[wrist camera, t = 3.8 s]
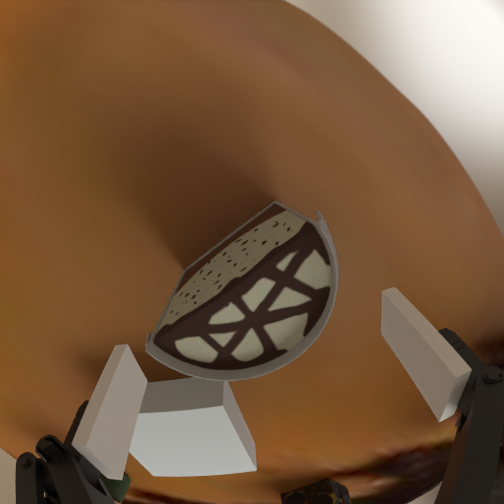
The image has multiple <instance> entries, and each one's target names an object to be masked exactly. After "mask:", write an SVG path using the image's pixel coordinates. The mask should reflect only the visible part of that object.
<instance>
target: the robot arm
mask: <svg viewBox="0 0 504 504" xmlns="http://www.w3.org/2000/svg"><path fill="white" fill-rule="evenodd" d="M381 335H382V336H383V338H384V339H385V340H386V342H387V343H388V345H389V346H390V348H391V349H392V351H393V352H394V354H395V355H396V356H397V358H398V359H399V361H400V362H401V364H402V365H403V367H404V368H405V370H406V371H407V373H408V374H409V376H410V377H411V379H412V380H413V382H414V383H415V385H416V387H417V388H418V390H419V391H420V393H421V394H422V396H423V397H424V399H425V401H426V402H427V404H428V405H429V407H430V408H431V410H432V412H433V413H434V415H435V416H436V418H437V420H438V421H439V422H441V421H443V420H445V419H447V418H449V417H450V416H452V415H454V413H455V411H456V409H457V406H458V407H459V409H460V410H461V414H460V416H459V418H458V420H457V422H456V425H455V426H458V427H457V431H456V436H455V440H454V444H453V448H452V451H451V455H450V459H449V462H448V465H447V469H446V472H445V475H444V478H443V481H442V484H441V487H440V490H439V493H438V495H437V498H436V500H435V503H434V504H504V366H503V367H502V368H501V369H500V368H498V367H496V366H486V365H485V364H484V363H483V362H482V361H481V360H480V359H479V358H478V357H477V355H476V354H475V353H474V352H473V351H472V350H471V349H470V348H469V347H468V346H466V344H465V343H464V342H463V341H461V338H460V337H459V336H458V335H457V334H456V333H455V332H453V331H451V330H449V329H447V328H444V329H441V330H439V331H437V330H436V329H435V328H434V327H433V326H432V324H431V323H430V322H429V321H428V320H427V319H426V318H425V317H424V316H423V315H422V314H421V313H420V312H419V311H418V310H417V309H416V308H415V307H414V306H413V305H412V304H411V303H410V302H409V301H408V300H407V299H406V298H405V297H404V296H403V295H402V294H401V293H400V292H399V291H398V290H397V289H396V288H395V287H392V288H389V289H386V290H382V311H381ZM147 382H148V381H147V379H146V377H145V375H144V374H143V372H142V370H141V368H140V367H139V365H138V363H137V361H136V359H135V357H134V355H133V354H132V352H131V350H130V348H129V346H128V344H122V345H115V347H114V349H113V351H112V353H111V355H110V357H109V359H108V362H107V364H106V366H105V368H104V370H103V372H102V374H101V376H100V379H99V381H98V383H97V385H96V387H95V389H94V392H93V394H92V396H91V398H90V401H85V402H84V403H83V404H82V405H81V406H80V407H79V409H78V411H77V413H76V418H74V420H73V424H72V425H71V427H70V430H69V432H68V434H67V437H66V439H65V442H64V444H62V443H61V442H60V441H59V440H58V439H57V437H55V436H53V435H47V436H44V437H43V438H41V439H40V440H39V442H38V443H37V445H36V453H37V454H38V455H39V456H40V457H41V458H37V457H35V456H34V455H33V454H32V453H30V452H25V453H23V454H21V455H20V456H19V458H18V459H17V462H16V504H116V503H115V502H114V500H113V498H112V497H111V495H110V493H109V492H108V490H107V488H106V486H105V485H104V483H103V481H102V480H101V479H100V478H99V477H100V473H102V474H103V475H104V476H106V477H107V478H108V479H116V480H122V479H123V474H124V470H125V466H126V461H127V457H128V453H129V449H130V445H131V441H132V437H133V433H134V429H135V425H136V422H137V418H138V414H139V411H140V407H141V403H142V400H143V396H144V393H145V389H146V386H147ZM501 444H502V445H501ZM502 462H503V463H502ZM44 493H45V497H44Z"/></svg>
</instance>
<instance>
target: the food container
mask: <svg viewBox="0 0 504 504" xmlns="http://www.w3.org/2000/svg"><path fill="white" fill-rule="evenodd" d="M316 213H317V216H318V221H315V220H313V219H311V218H309V217H307V216H305V215H304V214H302V213H300V212H298V211H296V210H294V209H292V208H290V207H288V206H286V205H284V204H282V203H281V202H279V201H277V200H275V201H274V202H272V203H271V204H270V205H268V206H267V207H266V208H264V209H263V210H261V211H260V212H259V213H257V214H256V215H255V216H254V217H252V218H251V219H250V220H248V221H247V222H246V223H244V224H243V225H242V226H240V227H239V228H238V229H236V230H235V231H234V232H232V233H231V234H230V235H228V236H227V237H226V238H225V239H223V240H222V241H221V242H219V243H218V244H217V245H215V246H214V247H213V248H212V249H210V250H209V251H208V252H206V253H205V254H204V255H202V256H201V257H200V258H199V259H197V260H196V261H195V262H193V263H192V264H191V265H190V266H188V267H187V268H186V269H185V270H184V271H183V273H182V275H181V277H180V279H179V280H178V282H177V284H176V286H175V288H174V290H173V292H172V294H171V296H170V298H169V300H168V302H167V304H166V306H165V309H164V311H163V313H162V315H161V317H160V319H159V321H158V323H157V325H156V327H155V329H154V331H153V333H152V335H151V334H150V333H149V334H147V338H146V342H145V347H146V349H145V351H146V352H147V353H148V354H149V355H151V356H152V357H153V358H154V359H156V360H157V361H159V362H161V363H162V364H164V365H166V366H167V367H169V368H171V369H174V370H176V371H178V372H181V373H183V374H186V375H189V376H193V377H196V378H201V379H207V380H213V381H237V380H246V379H251V378H255V377H260V376H263V375H265V374H268V373H271V372H274V371H276V370H278V369H280V368H282V367H284V366H286V365H288V364H289V363H290V362H292V361H293V360H295V359H296V358H298V357H299V356H300V355H302V354H303V353H304V352H305V351H306V350H307V349H308V348H309V347H310V346H311V345H312V344H313V343H314V342H315V340H316V339H317V338H318V337H319V335H320V334H321V332H322V331H323V329H324V327H325V326H326V324H327V322H328V320H329V318H330V315H331V312H332V310H333V307H334V304H335V299H336V294H337V289H338V277H339V267H338V260H337V254H336V249H335V246H334V243H333V240H332V237H331V234H330V232H329V229H328V226H327V223H326V222H325V220H324V218H323V216H322V215H321V213H320V211H319V210H317V211H316Z"/></svg>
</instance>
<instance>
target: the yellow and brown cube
mask: <svg viewBox="0 0 504 504" xmlns="http://www.w3.org/2000/svg"><path fill="white" fill-rule="evenodd" d="M281 501H282V504H351V501H350V496H349V492H348V490H347V488H345V487H344V486H342V485H340V484H338V483H336V482H334V481H333V480H331V479H326V480H322V481H320V482H317V483H315V484H312V485H309V486H306V487H303V488H301V489H298V490H296V491H293V492H289V493H285V494H282V495H281Z"/></svg>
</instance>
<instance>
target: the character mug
mask: <svg viewBox="0 0 504 504" xmlns="http://www.w3.org/2000/svg"><path fill="white" fill-rule="evenodd" d="M99 478H100V479H101V480H102V481H103V483H104V485H105V486H106V488H107V490H108V492H109V493H110V495H111V497H112V498H113V500H114V502H115V503H116V504H121V502H122V501H123V500H124V498H125V495H126V493H127V490H128V488H129V485H130V482H131V480H130V478H129V477H128V476H126V475H125V474H123V479H122V480H116V479H108V478H107V477H106V476H104V475H103V474H102V473H100V477H99Z"/></svg>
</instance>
